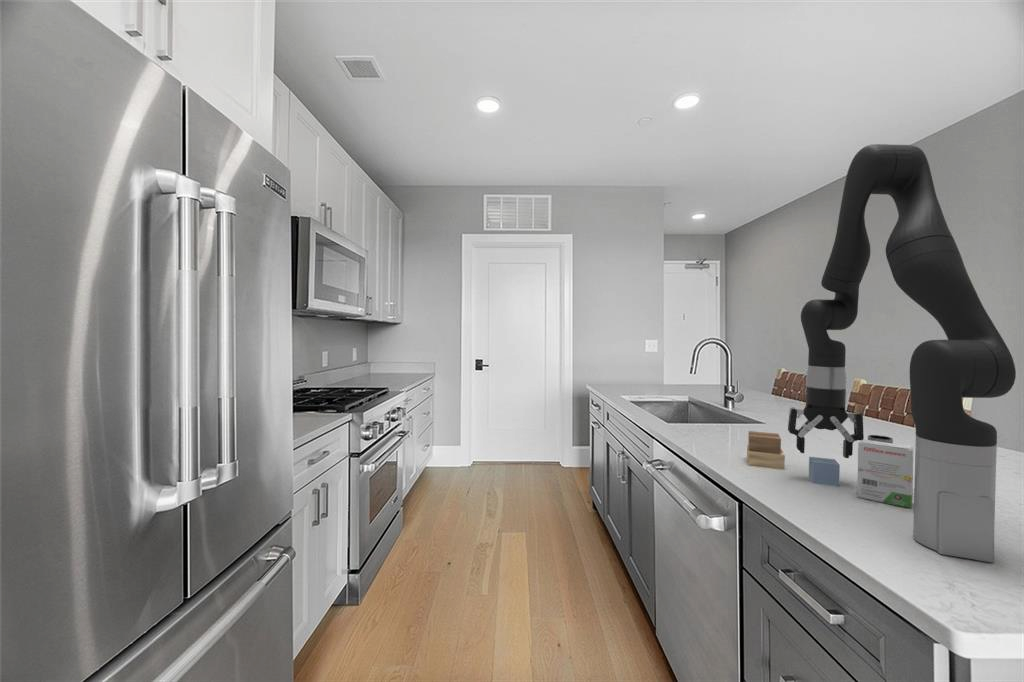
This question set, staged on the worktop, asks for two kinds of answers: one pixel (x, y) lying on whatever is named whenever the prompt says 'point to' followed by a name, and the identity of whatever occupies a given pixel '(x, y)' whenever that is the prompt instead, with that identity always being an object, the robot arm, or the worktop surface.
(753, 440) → the walnut block
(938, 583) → the worktop surface
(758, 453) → the oak block
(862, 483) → the ink box
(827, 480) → the blue cube
